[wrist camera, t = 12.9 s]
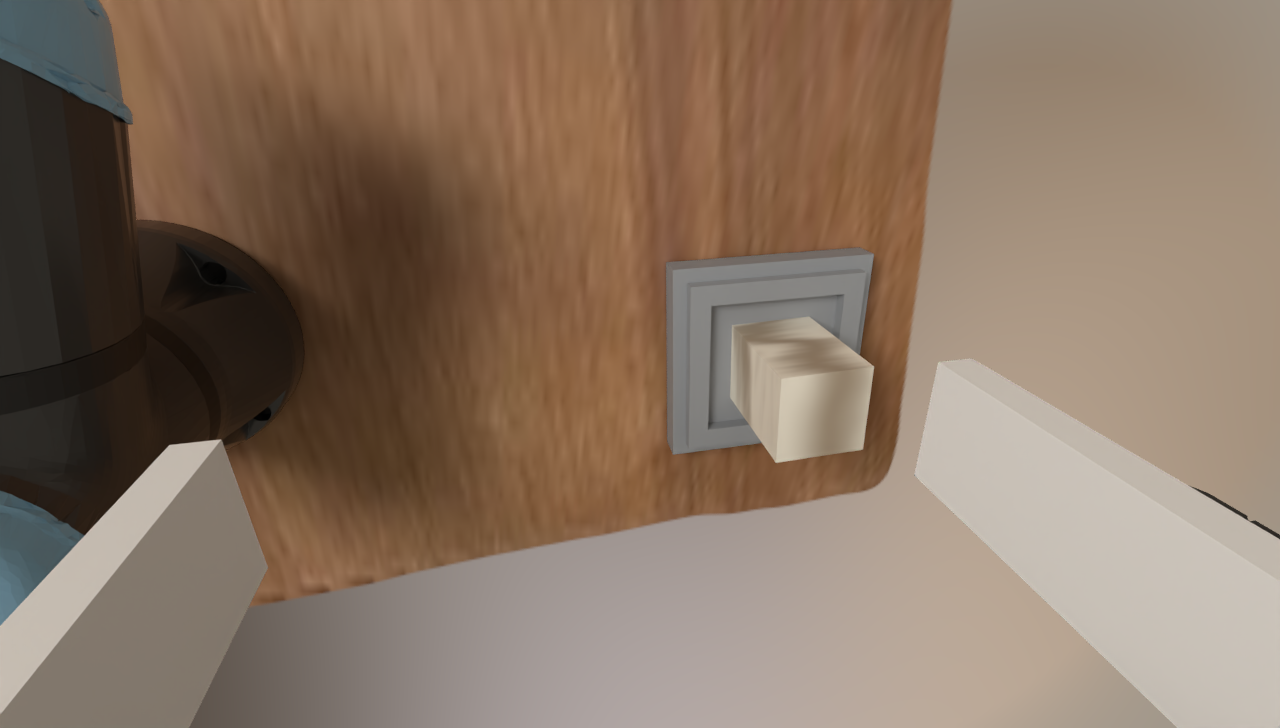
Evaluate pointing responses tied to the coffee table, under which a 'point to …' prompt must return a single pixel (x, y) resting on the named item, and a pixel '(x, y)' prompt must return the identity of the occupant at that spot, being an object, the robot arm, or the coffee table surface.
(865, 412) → the birch block
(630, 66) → the coffee table surface
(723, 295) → the slate plinth
